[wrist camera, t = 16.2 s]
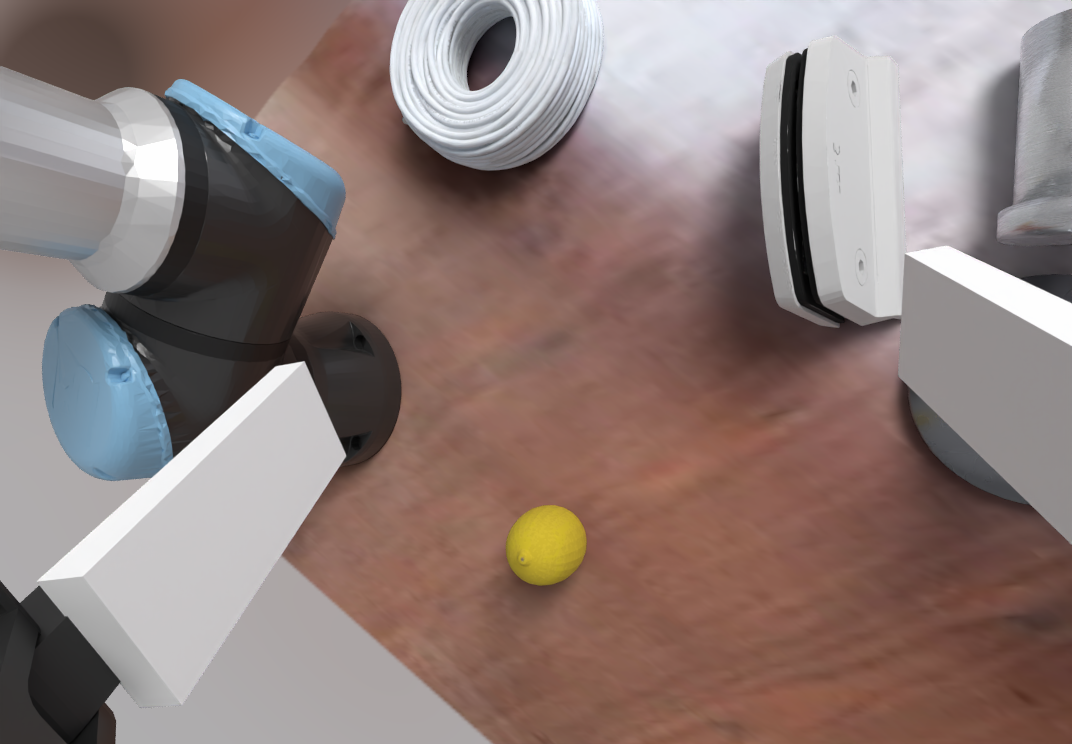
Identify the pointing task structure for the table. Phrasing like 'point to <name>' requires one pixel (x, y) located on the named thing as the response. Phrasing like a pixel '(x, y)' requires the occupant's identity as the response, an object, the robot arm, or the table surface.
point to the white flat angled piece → (833, 184)
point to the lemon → (546, 545)
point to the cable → (515, 96)
